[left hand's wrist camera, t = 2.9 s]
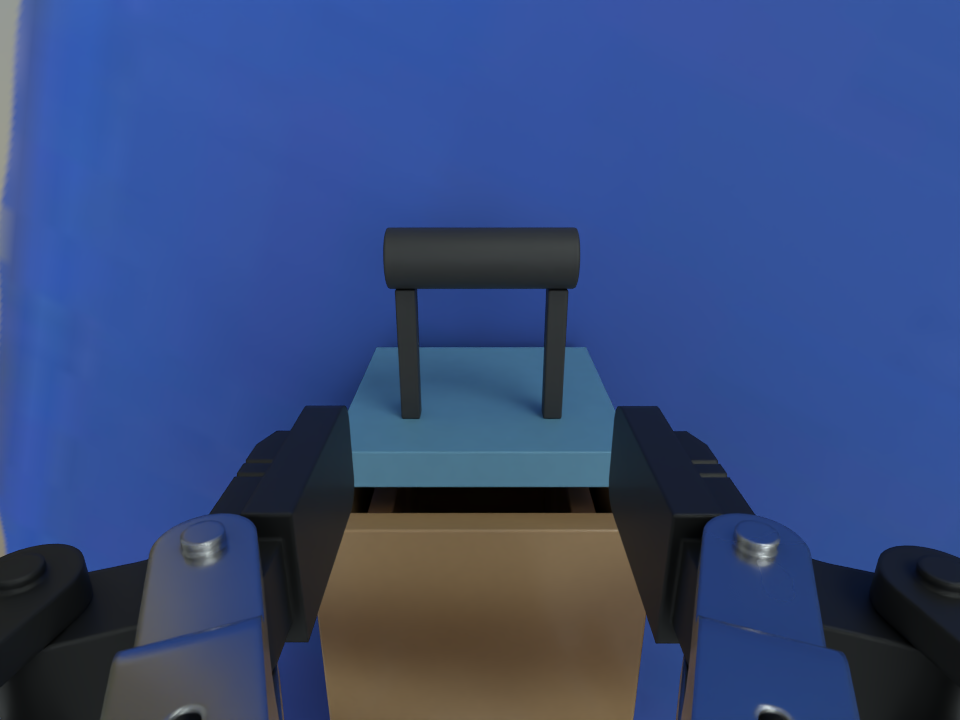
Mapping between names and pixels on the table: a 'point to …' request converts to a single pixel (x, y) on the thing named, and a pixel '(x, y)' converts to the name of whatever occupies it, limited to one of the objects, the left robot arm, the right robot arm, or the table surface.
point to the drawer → (481, 388)
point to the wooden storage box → (481, 617)
